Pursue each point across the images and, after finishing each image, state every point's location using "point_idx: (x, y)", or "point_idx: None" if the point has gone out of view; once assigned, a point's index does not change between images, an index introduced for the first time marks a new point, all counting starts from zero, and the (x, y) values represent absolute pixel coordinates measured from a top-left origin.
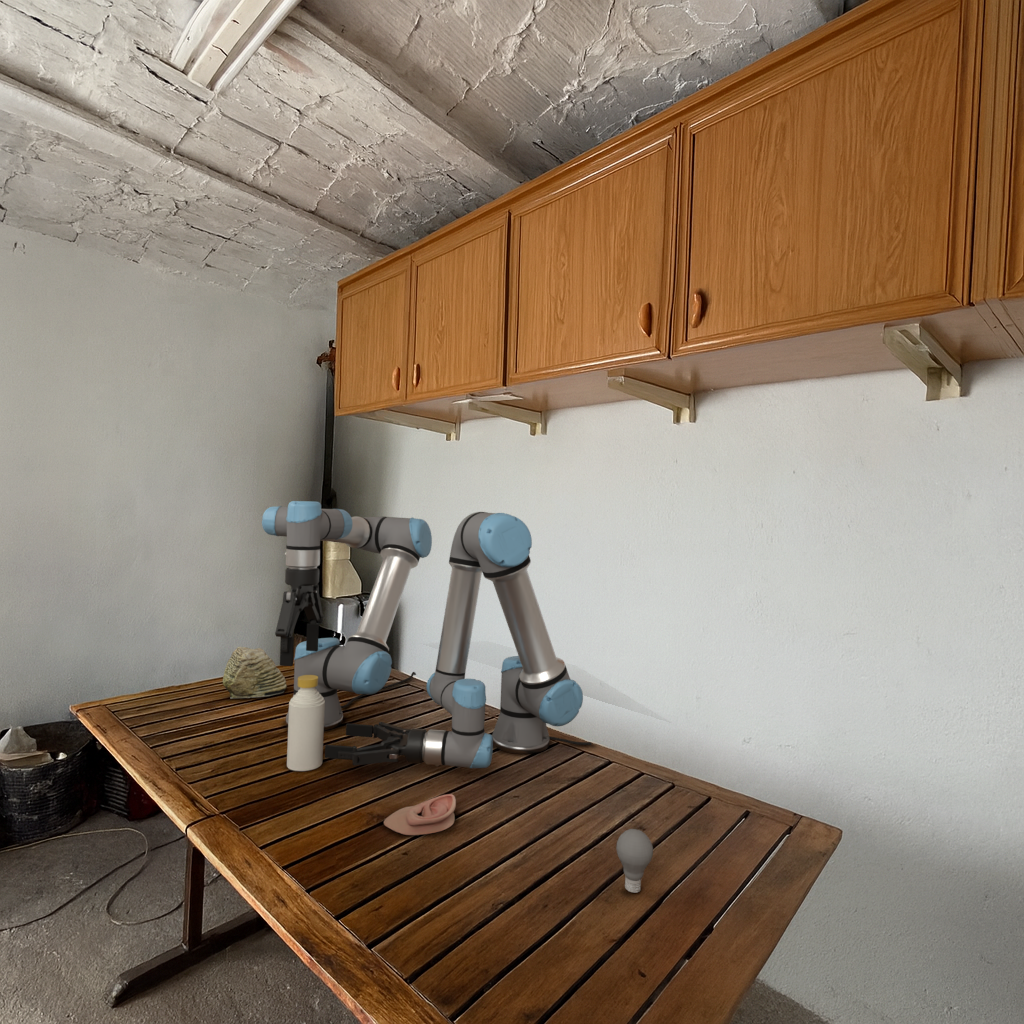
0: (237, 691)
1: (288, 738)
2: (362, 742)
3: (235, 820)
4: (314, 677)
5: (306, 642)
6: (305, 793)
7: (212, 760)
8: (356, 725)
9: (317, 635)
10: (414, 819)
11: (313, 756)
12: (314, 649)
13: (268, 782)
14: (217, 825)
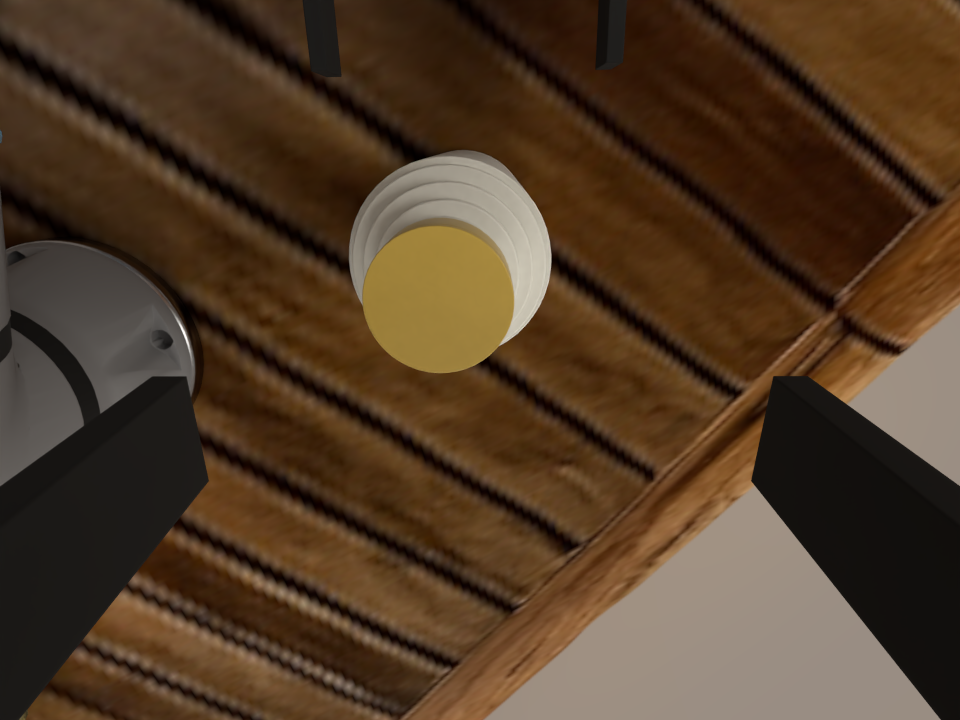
0: None
1: None
2: (199, 66)
3: (879, 245)
4: (421, 256)
5: (161, 536)
6: (695, 106)
7: (499, 497)
8: (321, 5)
9: (52, 475)
10: None
11: (505, 167)
12: (181, 408)
13: (624, 271)
14: (906, 279)
